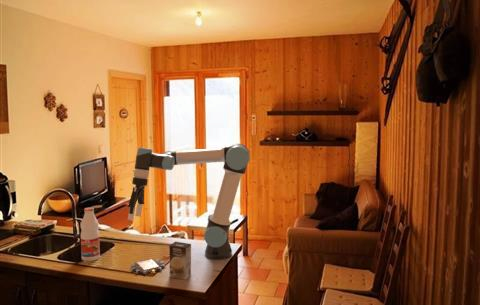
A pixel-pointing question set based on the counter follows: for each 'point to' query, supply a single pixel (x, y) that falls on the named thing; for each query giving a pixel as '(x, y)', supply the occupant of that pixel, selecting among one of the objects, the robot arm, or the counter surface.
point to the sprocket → (147, 266)
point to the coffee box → (180, 260)
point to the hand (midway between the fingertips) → (134, 218)
